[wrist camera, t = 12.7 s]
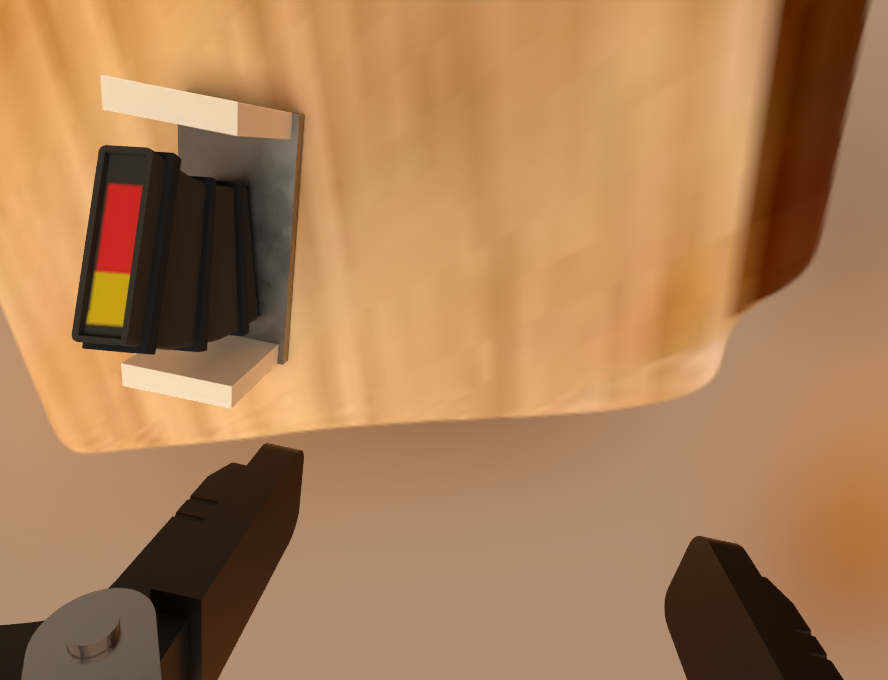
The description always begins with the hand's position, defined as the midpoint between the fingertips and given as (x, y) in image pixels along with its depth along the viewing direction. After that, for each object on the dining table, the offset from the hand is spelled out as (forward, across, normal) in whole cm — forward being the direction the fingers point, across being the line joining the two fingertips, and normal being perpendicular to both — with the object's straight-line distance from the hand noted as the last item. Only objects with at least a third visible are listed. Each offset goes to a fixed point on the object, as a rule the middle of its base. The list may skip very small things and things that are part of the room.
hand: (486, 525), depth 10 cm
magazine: (+29, +20, +3) cm, 36 cm away
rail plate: (+30, +20, +3) cm, 36 cm away
